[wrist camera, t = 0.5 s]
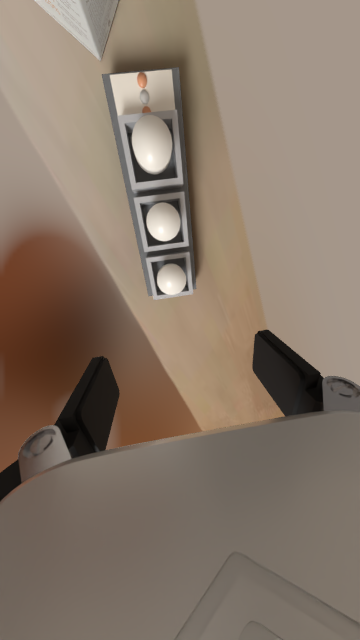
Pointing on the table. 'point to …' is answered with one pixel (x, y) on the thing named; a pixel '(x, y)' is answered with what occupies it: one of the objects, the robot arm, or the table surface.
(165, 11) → the table surface
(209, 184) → the table surface
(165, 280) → the button
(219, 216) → the table surface
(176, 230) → the button middle
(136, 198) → the button board
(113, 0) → the small box
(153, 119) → the button
